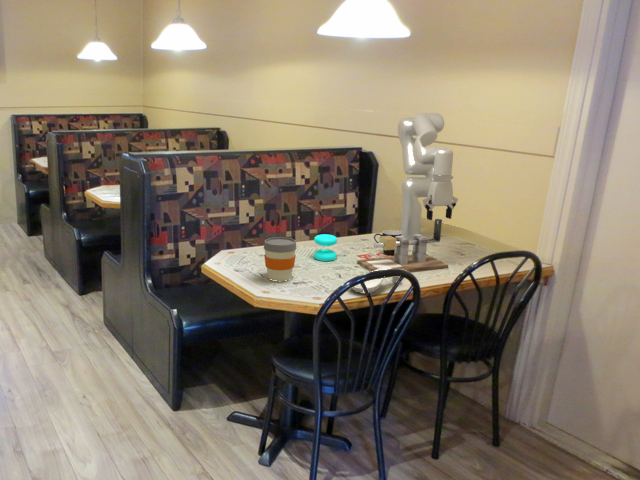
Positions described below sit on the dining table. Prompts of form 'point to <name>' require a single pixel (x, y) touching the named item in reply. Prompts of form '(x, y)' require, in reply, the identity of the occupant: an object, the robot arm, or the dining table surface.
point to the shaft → (411, 242)
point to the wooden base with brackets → (406, 257)
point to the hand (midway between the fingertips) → (438, 218)
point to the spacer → (388, 242)
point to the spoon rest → (374, 282)
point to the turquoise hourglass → (325, 253)
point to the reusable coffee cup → (279, 257)
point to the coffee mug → (389, 233)
